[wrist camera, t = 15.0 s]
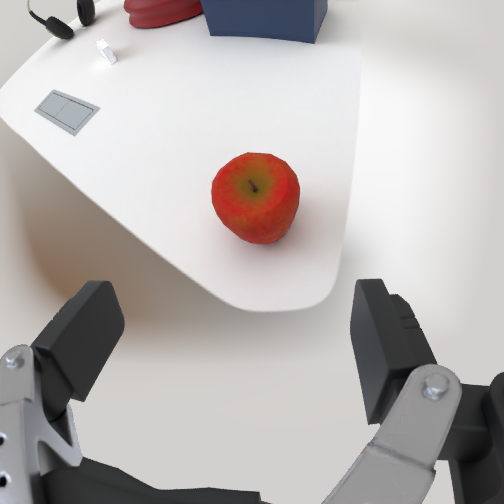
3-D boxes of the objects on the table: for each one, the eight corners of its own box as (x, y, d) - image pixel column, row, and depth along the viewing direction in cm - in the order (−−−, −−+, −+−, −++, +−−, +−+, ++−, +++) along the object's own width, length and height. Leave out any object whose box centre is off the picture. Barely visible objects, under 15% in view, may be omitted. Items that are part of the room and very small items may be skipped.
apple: (279, 180, 28) (273, 129, 21) (311, 236, 26) (318, 195, 19) (217, 210, 28) (193, 166, 21) (245, 269, 26) (227, 239, 19)
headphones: (109, 15, 47) (77, -46, 28) (56, 52, 46) (16, -5, 27) (100, 10, 50) (71, -44, 31) (52, 44, 49) (16, -7, 30)
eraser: (111, 64, 39) (102, 49, 35) (103, 56, 40) (95, 42, 37) (117, 60, 39) (108, 45, 35) (109, 52, 40) (101, 38, 37)
